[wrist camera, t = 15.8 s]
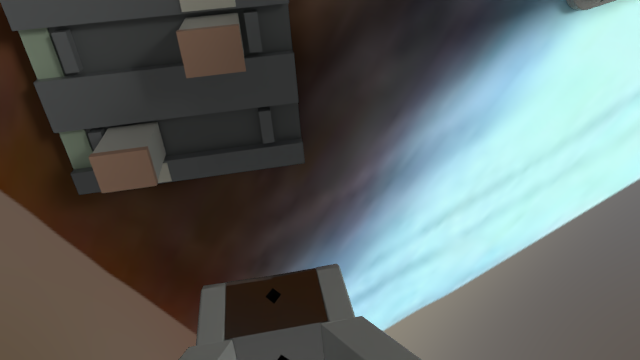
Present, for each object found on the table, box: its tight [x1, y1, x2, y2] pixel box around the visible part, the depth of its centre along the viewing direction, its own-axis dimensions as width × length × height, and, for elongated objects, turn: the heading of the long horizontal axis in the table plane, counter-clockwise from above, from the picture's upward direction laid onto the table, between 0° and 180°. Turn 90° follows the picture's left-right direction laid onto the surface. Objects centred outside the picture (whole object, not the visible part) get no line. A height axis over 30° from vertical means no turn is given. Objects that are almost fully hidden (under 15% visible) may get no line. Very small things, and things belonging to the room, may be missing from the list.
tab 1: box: [88, 122, 166, 193], centre depth 36 cm, size 4×3×6 cm
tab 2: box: [176, 13, 246, 78], centre depth 32 cm, size 4×3×6 cm
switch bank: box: [0, 0, 305, 195], centre depth 37 cm, size 20×16×3 cm
